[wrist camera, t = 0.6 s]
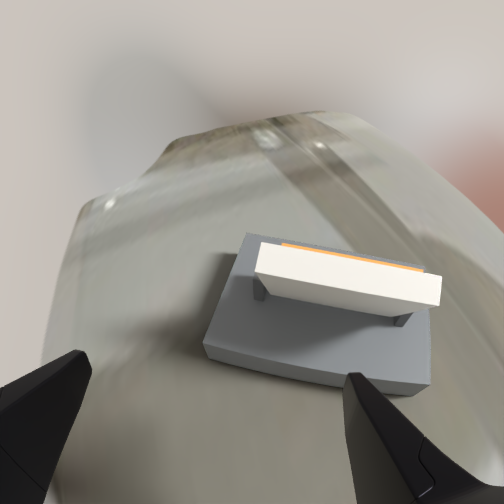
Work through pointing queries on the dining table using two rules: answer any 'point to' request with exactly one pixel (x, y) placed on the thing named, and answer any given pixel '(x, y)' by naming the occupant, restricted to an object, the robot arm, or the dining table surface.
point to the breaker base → (315, 333)
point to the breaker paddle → (345, 280)
